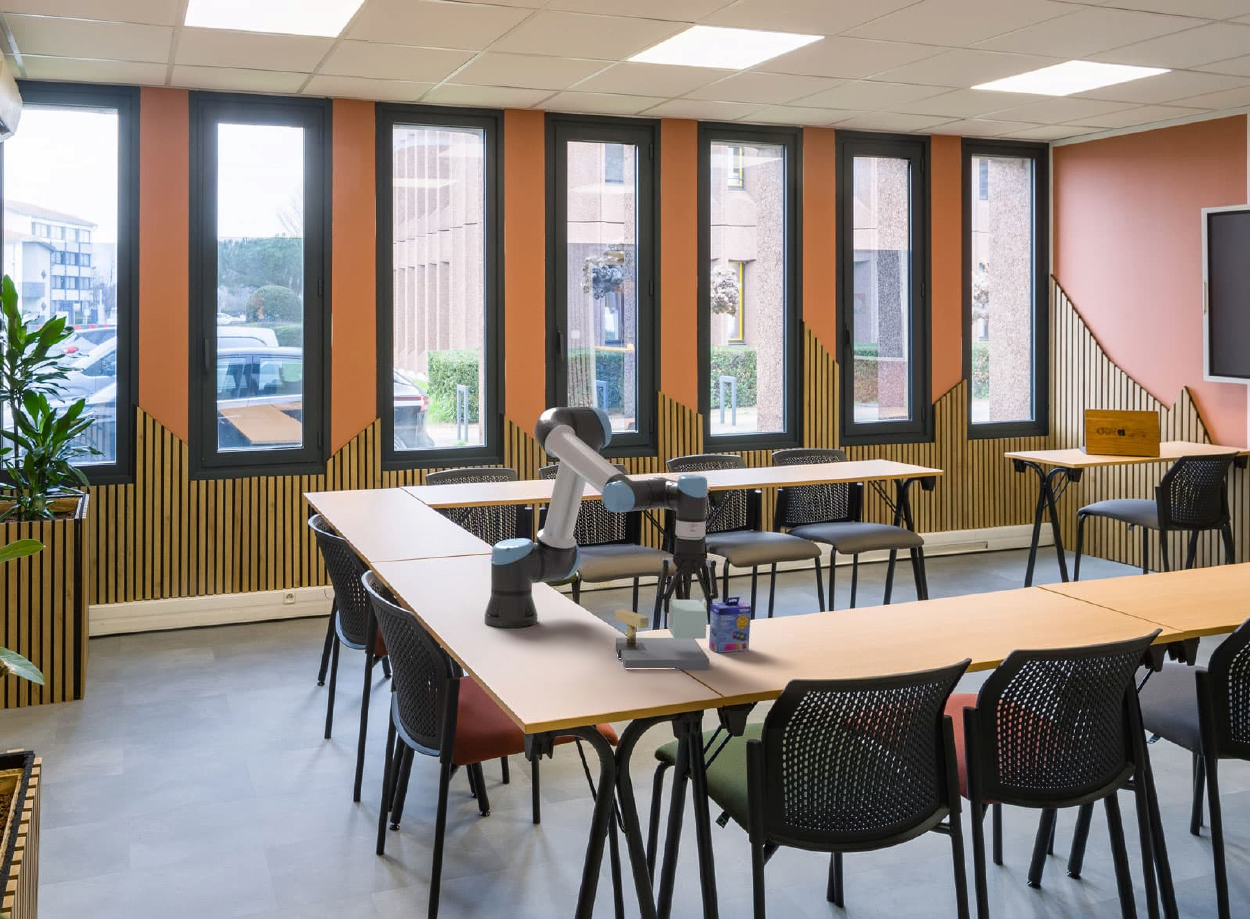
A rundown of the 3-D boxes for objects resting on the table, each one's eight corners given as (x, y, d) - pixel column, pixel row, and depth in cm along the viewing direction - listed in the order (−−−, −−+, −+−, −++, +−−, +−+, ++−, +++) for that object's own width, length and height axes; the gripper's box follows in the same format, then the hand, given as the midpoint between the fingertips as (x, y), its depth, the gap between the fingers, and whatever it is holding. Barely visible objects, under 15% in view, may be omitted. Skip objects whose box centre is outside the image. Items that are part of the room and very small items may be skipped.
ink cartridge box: (717, 653, 305) (719, 599, 303) (707, 648, 310) (709, 594, 308) (750, 650, 309) (752, 596, 307) (740, 645, 314) (742, 592, 312)
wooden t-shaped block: (639, 650, 295) (640, 618, 294) (614, 640, 304) (615, 610, 303) (647, 648, 296) (648, 617, 295) (622, 639, 305) (623, 608, 304)
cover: (666, 626, 301) (667, 599, 300) (697, 626, 302) (698, 599, 301) (674, 638, 289) (675, 610, 288) (705, 638, 290) (707, 611, 289)
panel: (613, 647, 309) (613, 637, 308) (693, 646, 311) (693, 637, 311) (623, 670, 287) (623, 659, 287) (709, 669, 289) (709, 659, 289)
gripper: (651, 538, 288) (647, 628, 290) (734, 540, 290) (729, 629, 293) (647, 533, 295) (643, 621, 298) (727, 534, 298) (723, 622, 300)
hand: (686, 625), depth 295 cm, fingers closed on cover, 8 cm apart
